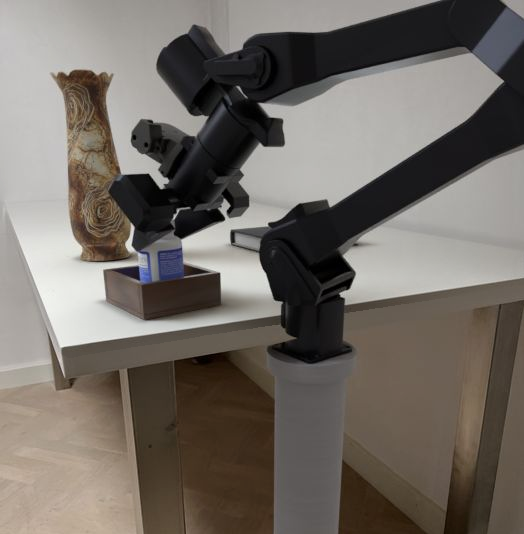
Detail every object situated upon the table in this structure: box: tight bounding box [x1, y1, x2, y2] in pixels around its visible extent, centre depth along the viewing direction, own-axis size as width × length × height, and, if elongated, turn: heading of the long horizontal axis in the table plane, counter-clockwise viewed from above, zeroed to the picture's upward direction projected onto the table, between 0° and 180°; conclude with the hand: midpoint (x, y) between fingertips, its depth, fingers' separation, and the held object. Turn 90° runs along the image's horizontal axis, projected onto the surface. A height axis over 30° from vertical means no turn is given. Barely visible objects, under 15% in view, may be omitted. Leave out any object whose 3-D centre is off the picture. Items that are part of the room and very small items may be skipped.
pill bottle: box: [137, 218, 184, 283], centre depth 68 cm, size 5×5×10 cm
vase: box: [49, 68, 132, 262], centre depth 95 cm, size 10×11×30 cm
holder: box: [102, 261, 222, 321], centre depth 69 cm, size 11×11×4 cm
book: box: [229, 226, 359, 253], centre depth 112 cm, size 22×15×3 cm
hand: (151, 245), depth 68 cm, fingers closed on pill bottle, 5 cm apart
